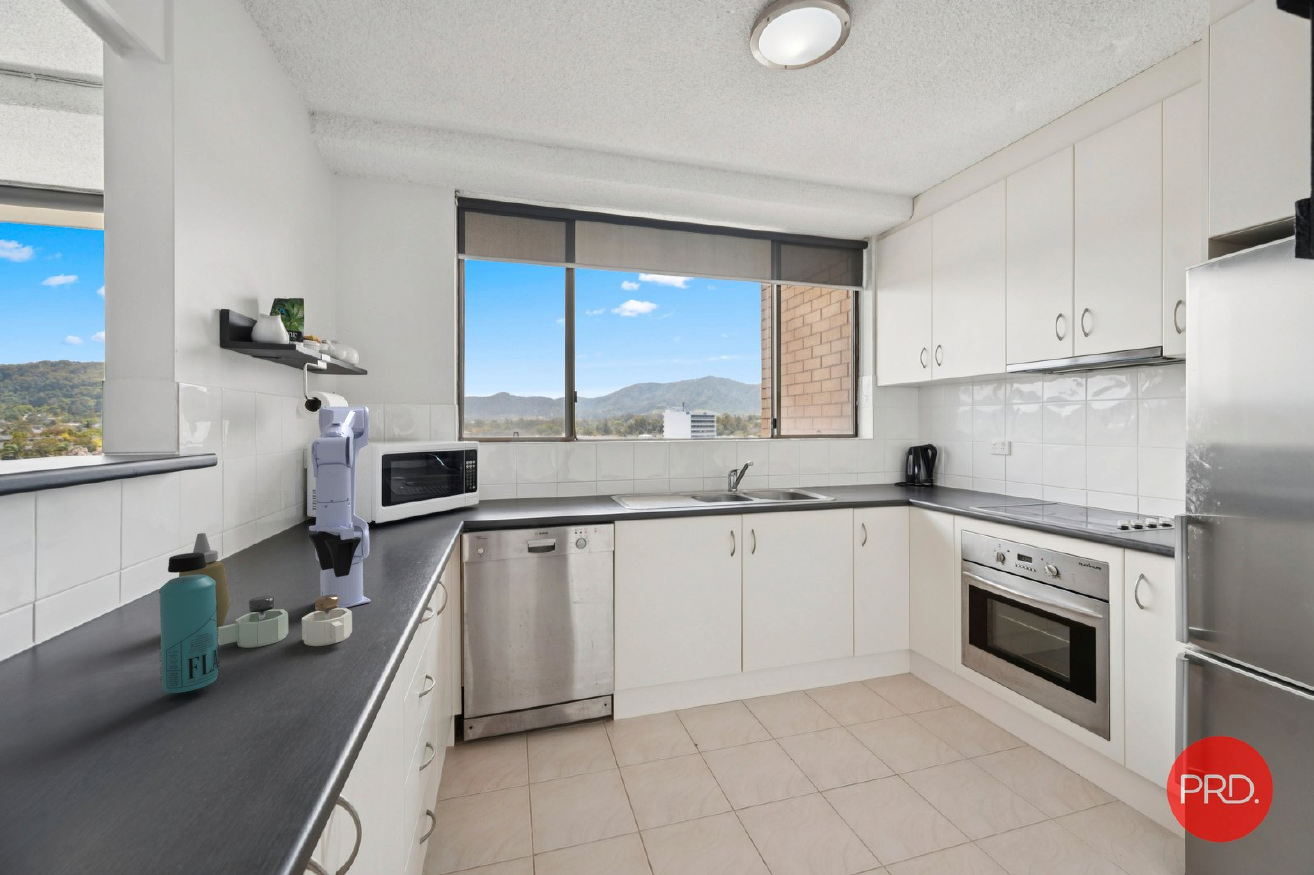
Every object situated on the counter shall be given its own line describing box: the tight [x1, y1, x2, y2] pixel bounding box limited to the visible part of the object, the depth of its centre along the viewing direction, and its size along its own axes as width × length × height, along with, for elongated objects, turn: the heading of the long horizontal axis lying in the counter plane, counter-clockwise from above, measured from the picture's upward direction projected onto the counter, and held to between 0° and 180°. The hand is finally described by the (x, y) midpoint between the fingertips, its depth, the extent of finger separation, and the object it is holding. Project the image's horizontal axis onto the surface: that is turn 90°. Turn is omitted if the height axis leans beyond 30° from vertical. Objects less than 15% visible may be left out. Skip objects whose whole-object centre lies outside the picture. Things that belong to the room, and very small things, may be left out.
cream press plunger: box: [314, 595, 339, 620], centre depth 99 cm, size 5×5×6 cm
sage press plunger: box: [248, 595, 275, 622], centre depth 99 cm, size 5×5×6 cm
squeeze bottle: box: [178, 532, 231, 629], centre depth 104 cm, size 8×8×18 cm
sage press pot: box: [217, 608, 289, 649], centre depth 98 cm, size 10×7×4 cm
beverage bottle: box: [158, 552, 220, 694], centre depth 79 cm, size 6×7×20 cm
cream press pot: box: [301, 607, 353, 647], centre depth 98 cm, size 10×7×4 cm
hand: (335, 572), depth 104 cm, fingers open, 7 cm apart
